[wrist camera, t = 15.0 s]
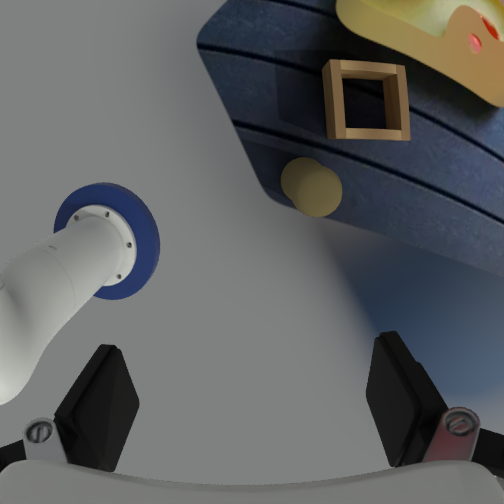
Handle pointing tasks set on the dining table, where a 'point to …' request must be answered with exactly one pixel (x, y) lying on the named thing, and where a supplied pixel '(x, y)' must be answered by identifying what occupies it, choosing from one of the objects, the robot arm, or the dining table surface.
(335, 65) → the frame
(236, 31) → the dining table surface
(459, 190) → the dining table surface
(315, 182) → the olive rounded figure
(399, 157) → the dining table surface
